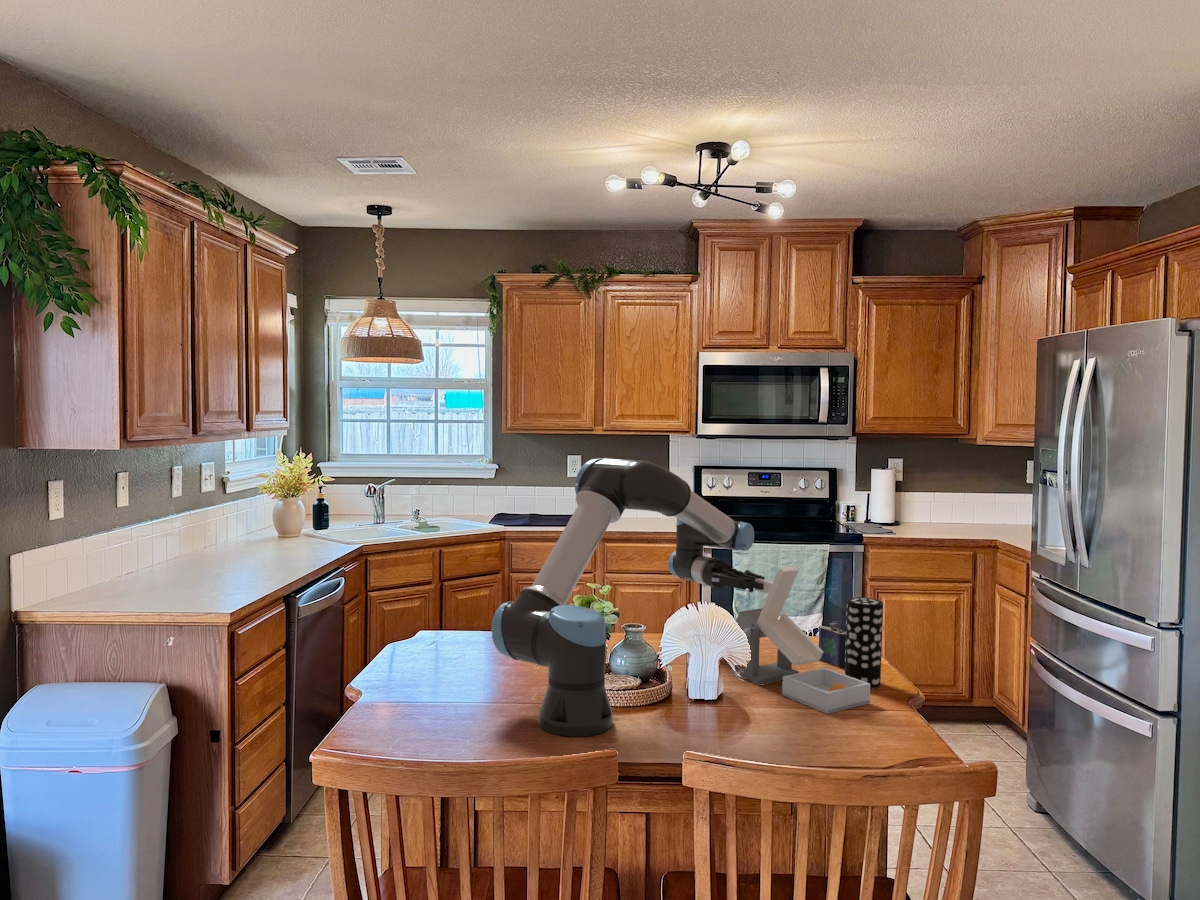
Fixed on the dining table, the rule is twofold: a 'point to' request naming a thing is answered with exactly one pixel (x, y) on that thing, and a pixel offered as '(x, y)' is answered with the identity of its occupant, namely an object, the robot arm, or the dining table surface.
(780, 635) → the chute
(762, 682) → the stand
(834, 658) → the flask
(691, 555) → the robot arm
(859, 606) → the spotted tube
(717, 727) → the dining table surface
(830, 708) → the grey storage tray
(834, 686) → the ball
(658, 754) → the dining table surface
